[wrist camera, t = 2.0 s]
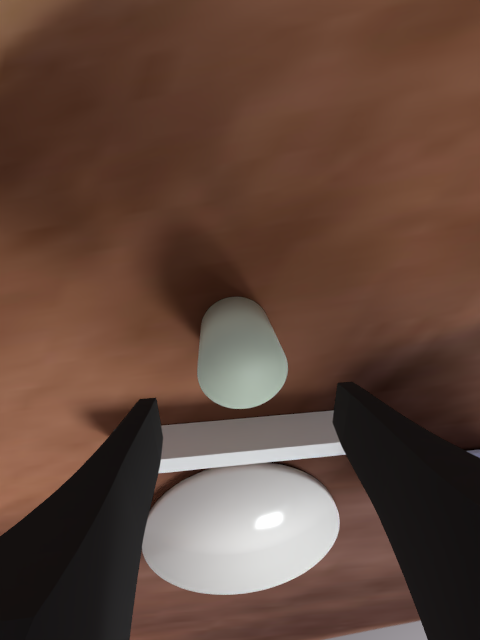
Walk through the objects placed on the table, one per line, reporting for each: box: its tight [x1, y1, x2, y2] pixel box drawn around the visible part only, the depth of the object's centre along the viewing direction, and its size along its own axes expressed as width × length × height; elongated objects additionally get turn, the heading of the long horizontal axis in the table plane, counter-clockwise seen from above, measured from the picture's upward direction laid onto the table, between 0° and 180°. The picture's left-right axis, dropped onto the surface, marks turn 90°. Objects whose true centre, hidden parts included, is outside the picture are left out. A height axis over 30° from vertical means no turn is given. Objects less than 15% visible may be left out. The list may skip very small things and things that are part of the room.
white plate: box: [142, 463, 340, 595], centre depth 26 cm, size 18×18×1 cm
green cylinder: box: [197, 297, 288, 409], centre depth 16 cm, size 4×4×5 cm
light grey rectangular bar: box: [158, 410, 346, 473], centre depth 20 cm, size 18×1×3 cm, turn 92°
